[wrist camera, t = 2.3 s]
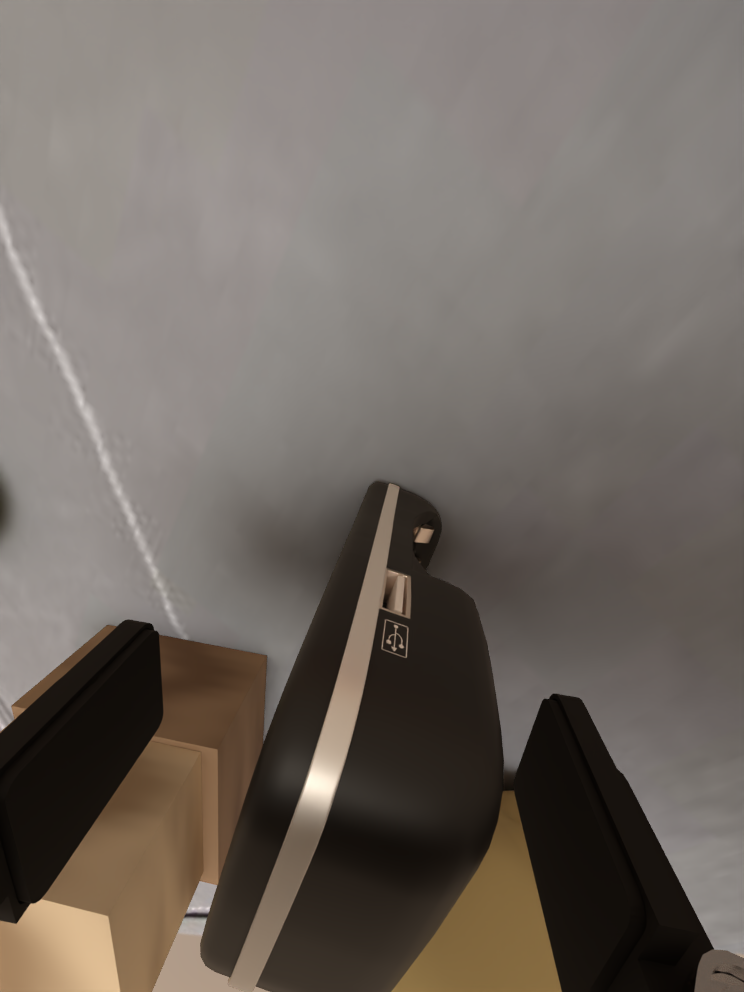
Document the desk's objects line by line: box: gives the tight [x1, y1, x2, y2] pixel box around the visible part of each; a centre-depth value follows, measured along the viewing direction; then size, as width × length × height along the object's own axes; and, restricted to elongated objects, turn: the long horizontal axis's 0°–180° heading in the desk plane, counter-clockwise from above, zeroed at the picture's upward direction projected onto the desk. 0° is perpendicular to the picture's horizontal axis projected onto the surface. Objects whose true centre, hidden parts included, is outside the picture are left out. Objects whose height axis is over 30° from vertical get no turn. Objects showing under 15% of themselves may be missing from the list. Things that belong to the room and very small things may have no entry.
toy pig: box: [391, 791, 562, 992], centre depth 16 cm, size 10×12×11 cm
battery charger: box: [200, 482, 504, 992], centre depth 11 cm, size 7×4×11 cm, turn 162°
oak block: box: [0, 720, 203, 992], centre depth 14 cm, size 7×7×4 cm
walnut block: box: [12, 625, 267, 885], centre depth 18 cm, size 8×8×5 cm
